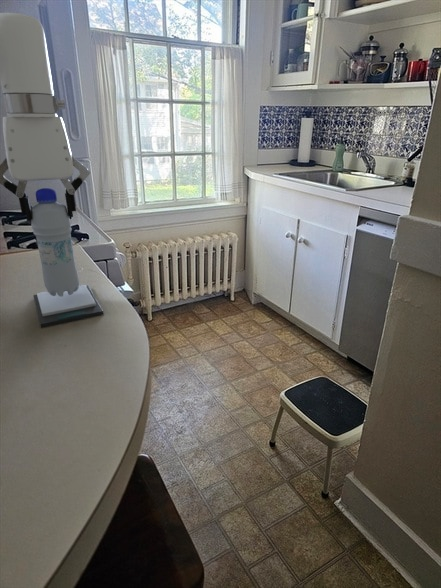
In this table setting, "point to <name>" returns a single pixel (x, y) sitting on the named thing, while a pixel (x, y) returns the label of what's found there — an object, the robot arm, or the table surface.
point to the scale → (66, 307)
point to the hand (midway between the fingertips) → (50, 216)
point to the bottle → (54, 243)
